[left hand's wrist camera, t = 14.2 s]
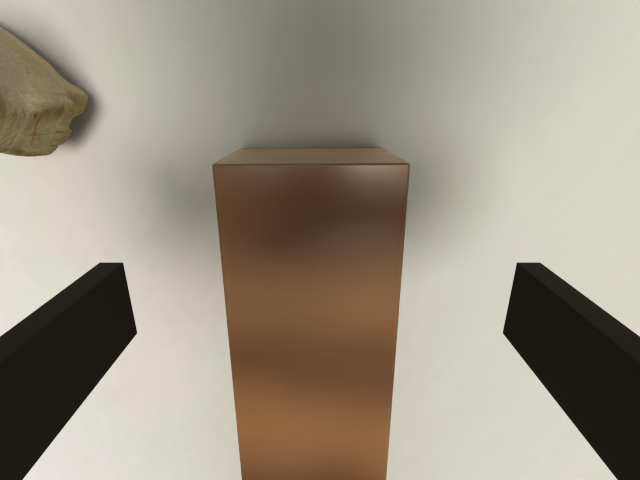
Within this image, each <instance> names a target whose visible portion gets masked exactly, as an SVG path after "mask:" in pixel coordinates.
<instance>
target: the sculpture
mask: <svg viewBox="0 0 640 480" xmlns="http://www.w3.org/2000/svg"><path fill="white" fill-rule="evenodd" d="M87 101H88V96H87V94H86V93H85V92H84V91H83V90H81V89H80V88H79V87H78V86H76V85H72V84H70V83H69V82H67V81H66V80H65V79H64V78H62V77H61V76H60V75H59V74H58V73H57V71H56V70H55V69H54V68H53V67H52V66H51V65H50V64H49V63H48V62H47V61H46V60H44V59H43V58H42V57H41V56H40V55H38V54H37V53H36V52H35V51H33V50H32V49H31V48H30V47H28V46H27V45H26V44H24V43H23V42H22V41H21V40H19V39H18V38H17V37H15V36H14V35H13V34H11V33H9V32H8V31H6V30H5V29H3V28H2V27H0V153H5V154H10V155H16V156H42V155H49V154H51V153H52V152H54V151H55V150H56V148H57V147H58V145H61V144H63V143H65V142H66V141H67V139H68V138H69V136H70V135H71V133H72V131H73V130H72V127H71V125H70V123H71V121H72V119H73V118H74V117H76V116H78V115H80V114H82V113H83V111H84V109H85V107H86V104H87Z"/></svg>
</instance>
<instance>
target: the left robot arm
mask: <svg viewBox="0 0 640 480" xmlns="http://www.w3.org/2000/svg"><path fill="white" fill-rule="evenodd" d="M136 334H137V330H136V325H135V320H134V315H133V310H132V305H131V300H130V295H129V290H128V285H127V280H126V275H125V270H124V265H123V263H99V264H98V265H96V266H95V267H94V268H92V269H91V270H90V271H88V272H87V273H85V274H84V275H83V276H81V277H80V278H79V279H77V280H76V281H75V282H73V283H72V284H71V285H69V286H68V287H67V288H65V289H64V290H63V291H61V292H60V293H59V294H57V295H56V296H54V297H53V298H52V299H50V300H49V301H48V302H46V303H45V304H44V305H42V306H41V307H40V308H38V309H37V310H36V311H34V312H33V313H32V314H30V315H29V316H28V317H26V318H25V319H24V320H22V321H21V322H19V323H18V324H17V325H15V326H14V327H13V328H11V329H10V330H9V331H7V332H6V333H5V334H3V335H2V336H1V337H0V480H22V479H23V478H24V477H25V476H26V474H27V473H28V472H29V471H30V469H31V468H32V467H33V465H34V464H35V463H36V462H37V460H38V459H39V458H40V456H41V455H42V454H43V453H44V451H45V450H46V449H47V448H48V446H49V445H50V444H51V442H52V441H53V440H54V439H55V437H56V436H57V435H58V433H59V432H60V431H61V430H62V428H63V427H64V426H65V425H66V423H67V422H68V421H69V419H70V418H71V417H72V416H73V414H74V413H75V412H76V410H77V409H78V408H79V407H80V405H81V404H82V403H83V402H84V400H85V399H86V398H87V396H88V395H89V394H90V393H91V391H92V390H93V389H94V387H95V386H96V385H97V384H98V382H99V381H100V380H101V379H102V377H103V376H104V375H105V373H106V372H107V371H108V370H109V368H110V367H111V366H112V364H113V363H114V362H115V361H116V359H117V358H118V357H119V356H120V354H121V353H122V352H123V350H124V349H125V348H126V347H127V345H128V344H129V343H130V342H131V340H132V339H133V338H134V336H135V335H136ZM503 334H504V335H505V336H506V338H507V339H508V340H509V342H510V343H511V344H512V345H513V347H514V348H515V349H516V350H517V352H518V353H519V354H520V356H521V357H522V358H523V359H524V361H525V362H526V363H527V365H528V366H529V367H530V368H531V370H532V371H533V372H534V373H535V375H536V376H537V377H538V379H539V380H540V381H541V382H542V384H543V385H544V386H545V387H546V389H547V390H548V391H549V393H550V394H551V395H552V396H553V398H554V399H555V400H556V402H557V403H558V404H559V405H560V407H561V408H562V409H563V410H564V412H565V413H566V414H567V416H568V417H569V418H570V419H571V421H572V422H573V423H574V425H575V426H576V427H577V428H578V430H579V431H580V432H581V433H582V435H583V436H584V437H585V439H586V440H587V441H588V442H589V444H590V445H591V446H592V448H593V449H594V450H595V451H596V453H597V454H598V455H599V456H600V458H601V459H602V460H603V462H604V463H605V464H606V465H607V467H608V468H609V469H610V471H611V472H612V473H613V474H614V476H615V477H616V478H617V479H618V480H640V337H639V336H638V335H637V334H635V333H634V332H633V331H631V330H630V329H629V328H627V327H626V326H625V325H623V324H622V323H621V322H619V321H618V320H616V319H615V318H614V317H612V316H611V315H610V314H608V313H607V312H606V311H604V310H603V309H602V308H600V307H599V306H598V305H596V304H595V303H594V302H592V301H591V300H590V299H588V298H587V297H586V296H584V295H583V294H581V293H580V292H579V291H577V290H576V289H575V288H573V287H572V286H571V285H569V284H568V283H567V282H565V281H564V280H563V279H561V278H560V277H559V276H557V275H556V274H555V273H553V272H552V271H550V270H549V269H548V268H546V267H545V266H544V265H542V264H541V263H517V265H516V270H515V275H514V280H513V285H512V290H511V295H510V300H509V305H508V310H507V315H506V320H505V325H504V330H503Z"/></svg>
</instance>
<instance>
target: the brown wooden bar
mask: <svg viewBox="0 0 640 480" xmlns="http://www.w3.org/2000/svg"><path fill="white" fill-rule="evenodd" d="M212 167H213V177H214V188H215V198H216V209H217V220H218V230H219V241H220V251H221V262H222V273H223V283H224V294H225V304H226V315H227V326H228V336H229V347H230V357H231V368H232V379H233V389H234V400H235V410H236V421H237V432H238V442H239V453H240V463H241V474H242V480H386V473H387V460H388V447H389V433H390V420H391V407H392V394H393V381H394V367H395V354H396V341H397V328H398V315H399V301H400V288H401V275H402V262H403V249H404V235H405V222H406V209H407V196H408V183H409V169H410V164H409V163H407V162H406V161H404V160H402V159H400V158H398V157H397V156H395V155H393V154H391V153H389V152H387V151H386V150H384V149H382V148H242V149H240V150H238V151H236V152H235V153H233V154H231V155H229V156H227V157H225V158H224V159H222V160H220V161H218V162H216V163H215V164H213V166H212Z"/></svg>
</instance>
